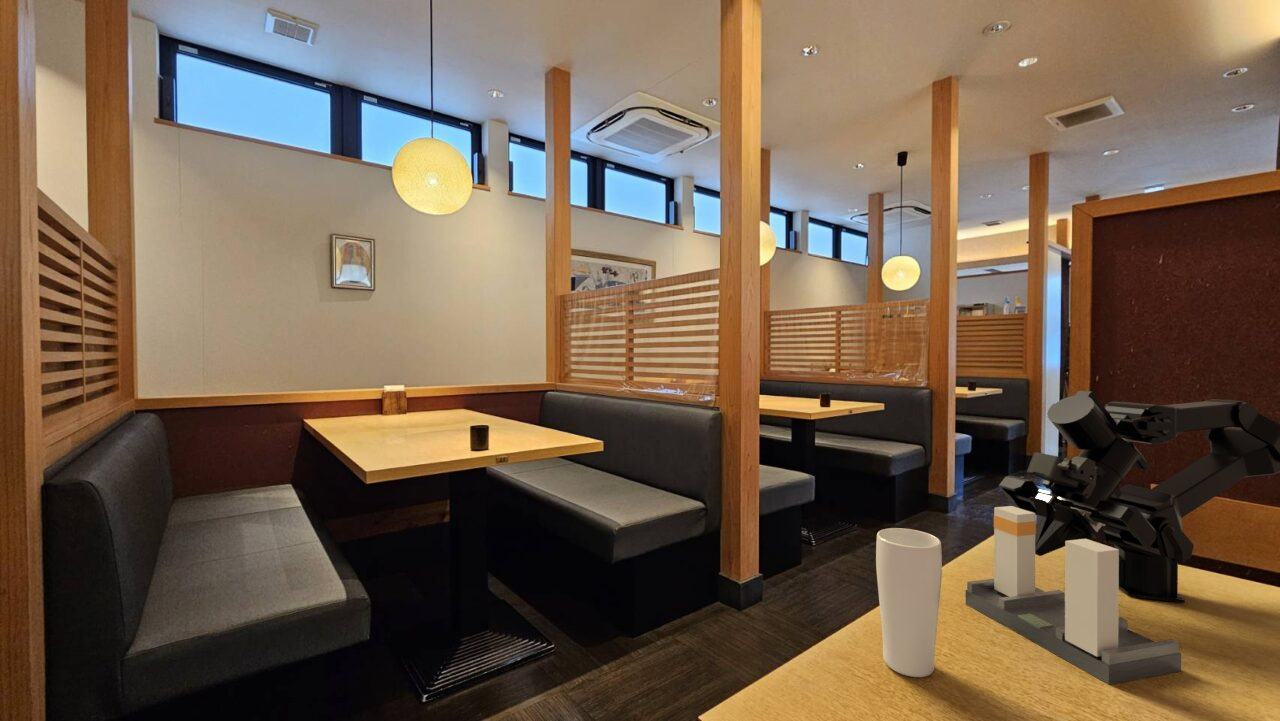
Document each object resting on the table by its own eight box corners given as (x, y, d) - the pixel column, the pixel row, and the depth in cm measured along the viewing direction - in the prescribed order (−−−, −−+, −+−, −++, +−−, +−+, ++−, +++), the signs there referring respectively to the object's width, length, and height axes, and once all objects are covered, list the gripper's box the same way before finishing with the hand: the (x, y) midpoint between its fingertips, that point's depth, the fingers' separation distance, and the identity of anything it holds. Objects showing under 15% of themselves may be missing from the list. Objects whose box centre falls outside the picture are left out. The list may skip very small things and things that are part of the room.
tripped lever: (1011, 586, 77) (1011, 505, 77) (1035, 598, 74) (1035, 513, 73) (993, 588, 77) (993, 507, 76) (1017, 600, 73) (1017, 515, 73)
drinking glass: (951, 687, 58) (951, 549, 58) (884, 680, 59) (883, 545, 59) (930, 652, 65) (930, 529, 64) (870, 647, 66) (870, 526, 66)
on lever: (1085, 636, 64) (1085, 538, 64) (1118, 653, 60) (1118, 549, 60) (1064, 639, 63) (1065, 540, 63) (1097, 656, 60) (1097, 552, 59)
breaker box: (1024, 595, 79) (1024, 574, 79) (1181, 671, 61) (1181, 642, 61) (965, 603, 77) (965, 581, 77) (1108, 684, 58) (1108, 655, 58)
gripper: (1008, 424, 86) (949, 498, 84) (1139, 444, 68) (1069, 538, 65) (1048, 471, 88) (991, 544, 85) (1186, 502, 69) (1119, 596, 67)
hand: (1035, 553), depth 76 cm, fingers closed
